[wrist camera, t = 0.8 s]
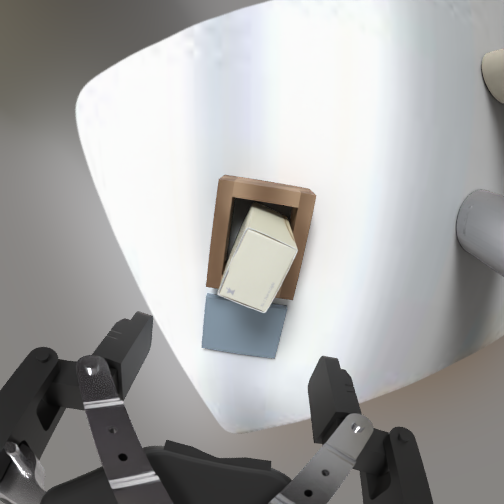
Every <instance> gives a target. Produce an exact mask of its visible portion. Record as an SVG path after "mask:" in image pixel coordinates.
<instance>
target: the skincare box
mask: <svg viewBox="0 0 504 504" xmlns="http://www.w3.org/2000/svg"><path fill="white" fill-rule="evenodd" d="M297 252H298V249H297V246H296V243H295V239H294V236H293V233H292V230H291V227H290V224H289V221H288V218H287V216H285V215H283V214H281V213H279V212H277V211H275V210H273V209H271V208H268V207H266V206H264V205H262V204H259V203H257V202H253V203H252V205H251V207H250V209H249V211H248V213H247V215H246V217H245V219H244V222H243V224H242V226H241V228H240V230H239V233H238V235H237V237H236V240H235V242H234V245H233V247H232V250H231V253H230V256H229V259H228V262H227V265H226V268H225V271H224V274H223V277H222V280H221V284H220V287H219V290H218V293H217V294H218V295H219V296H221V297H224V298H226V299H228V300H231V301H233V302H236V303H238V304H241V305H243V306H246V307H248V308H251V309H254V310H257V311H259V312H262V313H266V311H267V310H268V308H269V307H270V305H271V303H272V301H273V300H274V298H275V296H276V294H277V292H278V290H279V289H280V287H281V285H282V283H283V281H284V279H285V277H286V275H287V273H288V271H289V269H290V267H291V265H292V263H293V260H294V259H295V256H296V254H297Z"/></svg>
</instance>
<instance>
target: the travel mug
mask: <svg viewBox="0 0 504 504" xmlns="http://www.w3.org/2000/svg"><path fill="white" fill-rule="evenodd" d="M482 73H483V77H484V80H485V83H486V85H487V87H488V89H489V91H490V92H491V94H492V95H493V96H494V97H495V98H496V99H497V100H498V101H499V102H501V103H503V104H504V49H500V50H496V51H493V52H489V53H487V54H485V56H484V57H483V60H482Z"/></svg>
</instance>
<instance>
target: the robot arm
mask: <svg viewBox="0 0 504 504" xmlns="http://www.w3.org/2000/svg"><path fill="white" fill-rule="evenodd" d="M456 230H457V237H458V240H459V243H460V245H461V246H462V248H463V249H464V250H465V251H467V252H468V253H470V254H471V255H473V256H474V257H476V258H477V259H479V260H480V261H482V262H483V263H485V264H486V265H487V266H489V267H490V268H492V269H493V270H495V271H496V272H497V273H499V274H500V275H502V276H503V277H504V196H502V195H499V194H496V193H493V192H490V191H487V190H477V191H475V192H473V193H471V194H470V195H469V196H468V197H467V198H466V199H465V201H464V202H463V204H462V206H461V208H460V211H459V214H458V218H457V228H456ZM152 327H153V316H151V315H148V314H145V313H142V312H136V313H135V315H134V316H133V318H132V319H131V320H129V319H122V320H120V321H119V322H117V323H116V324H115V325H114V326H113V328H112V329H111V331H109V333H108V334H107V336H106V337H105V338H104V339H103V341H102V342H101V344H100V345H99V346H98V347H97V349H96V350H95V351H94V353H93V354H92V355H86V356H83V357H81V358H80V359H79V360H78V361H76V362H74V361H67V360H60V359H58V355H57V353H56V352H55V351H54V350H52V349H51V348H47V347H39V348H36V349H34V350H32V351H31V352H30V353H29V355H28V356H27V357H26V358H25V359H24V361H23V362H22V363H21V364H20V366H19V367H18V368H17V369H16V371H15V372H14V374H13V375H12V376H11V377H10V379H9V380H8V381H7V382H6V384H5V385H4V386H3V388H2V389H1V390H0V500H1V501H2V502H3V503H6V504H327V503H328V502H329V500H330V499H331V497H332V496H333V495H334V494H335V492H336V491H337V490H338V488H339V487H340V485H341V484H342V483H343V481H344V480H345V478H346V477H347V476H348V474H349V473H350V471H351V470H352V469H356V470H359V471H360V478H361V486H362V495H363V504H433V501H432V497H431V492H430V488H429V484H428V481H427V477H426V473H425V470H424V466H423V463H422V459H421V456H420V453H419V449H418V446H417V443H416V440H415V437H414V435H413V433H412V432H411V431H409V430H408V429H406V428H403V427H395V428H393V429H392V430H391V431H390V432H389V433H388V432H385V431H381V430H378V429H375V428H373V424H372V422H371V421H370V420H369V419H368V418H367V417H365V416H363V415H362V414H361V410H360V407H359V403H358V400H357V396H356V393H355V389H354V387H353V382H352V379H351V377H350V375H349V374H348V373H347V372H346V370H343V369H341V368H340V365H339V361H338V359H337V358H332V357H326V356H322V357H321V358H320V359H319V361H318V363H317V366H316V368H315V370H314V372H313V374H312V376H311V378H310V380H309V384H308V395H309V404H310V412H311V421H312V430H313V439H314V443H320V444H323V446H322V448H321V449H320V450H319V451H318V452H317V453H316V454H315V456H314V457H313V458H312V459H311V460H310V462H309V463H307V465H306V466H305V467H304V468H303V469H302V470H301V471H300V472H299V473H298V475H296V476H295V478H294V479H293V480H291V479H290V478H289V477H288V476H286V475H285V474H283V473H281V472H280V471H277V470H275V469H273V468H271V461H266V460H259V459H252V458H216V457H214V456H211V455H209V454H207V453H205V452H202V451H200V450H198V449H196V448H194V447H191V446H188V445H184V444H180V443H176V442H173V441H169V440H166V443H165V446H149V447H144V448H142V446H141V443H140V441H139V439H138V437H137V435H136V432H135V430H134V427H133V425H132V423H131V420H130V418H129V415H128V413H127V410H126V408H125V405H124V403H123V401H124V399H125V397H126V395H127V393H128V391H129V389H130V387H131V385H132V383H133V381H134V380H135V378H136V376H137V374H138V372H139V370H140V368H141V366H142V364H143V362H144V360H145V358H146V357H147V355H148V353H149V350H150V347H151V340H152ZM66 408H73V409H79V410H85V413H86V416H87V420H88V424H89V427H90V430H91V434H92V437H93V440H94V444H95V447H96V450H97V453H98V455H99V459H100V461H101V464H102V467H100V468H97V469H96V470H93V471H91V472H88V473H86V474H84V475H81V476H79V477H77V478H75V479H72V480H70V481H67V482H65V483H62V484H59V485H57V486H54V487H52V488H51V489H49V490H48V491H47V492H46V491H45V489H44V479H45V471H44V468H43V466H42V465H41V463H40V462H39V460H40V457H41V455H42V453H43V451H44V449H45V447H46V445H47V443H48V441H49V439H50V437H51V436H52V433H53V432H54V430H55V428H56V426H57V424H58V422H59V420H60V418H61V417H62V415H63V413H64V411H65V409H66Z"/></svg>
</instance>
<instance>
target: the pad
mask: <svg viewBox="0 0 504 504" xmlns="http://www.w3.org/2000/svg"><path fill="white" fill-rule="evenodd" d="M286 312H287V306H285V305H278V304H271V305H270V307H269V308H268V310H267V311H266V313H262V312H259V311H257V310H254V309H251V308H248V307H246V306H243V305H241V304H238V303H236V302H233V301H231V300H228V299H226V298H224V297H221V296H219V295H214V294H208V293H207V296H206V304H205V314H204V325H203V337H202V348H207V349H213V350H218V351H225V352H231V353H237V354H244V355H251V356H258V357H266V358H274V359H275V355H276V351H277V347H278V343H279V340H280V336H281V332H282V328H283V324H284V320H285V316H286Z"/></svg>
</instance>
